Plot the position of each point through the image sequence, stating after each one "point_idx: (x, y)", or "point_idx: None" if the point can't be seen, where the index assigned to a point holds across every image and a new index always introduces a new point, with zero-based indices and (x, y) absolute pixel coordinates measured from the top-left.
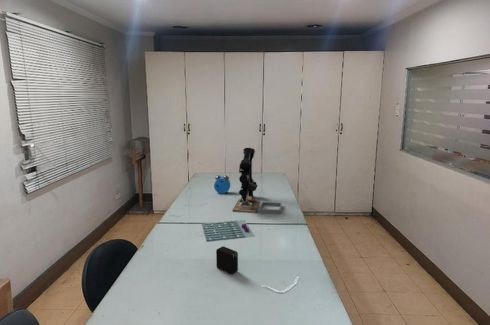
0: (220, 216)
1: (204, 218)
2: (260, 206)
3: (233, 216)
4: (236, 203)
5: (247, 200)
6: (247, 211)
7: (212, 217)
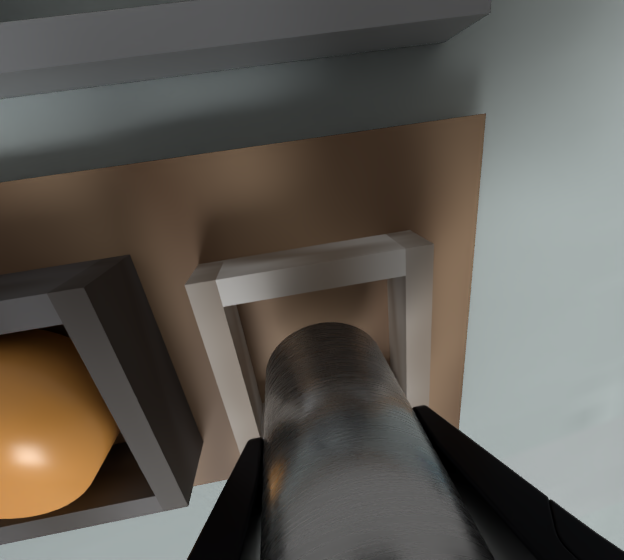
0: (584, 451)
1: (616, 518)
2: (290, 16)
3: (595, 355)
4: (212, 479)
5: (390, 390)
6: (467, 251)
7: (601, 488)
